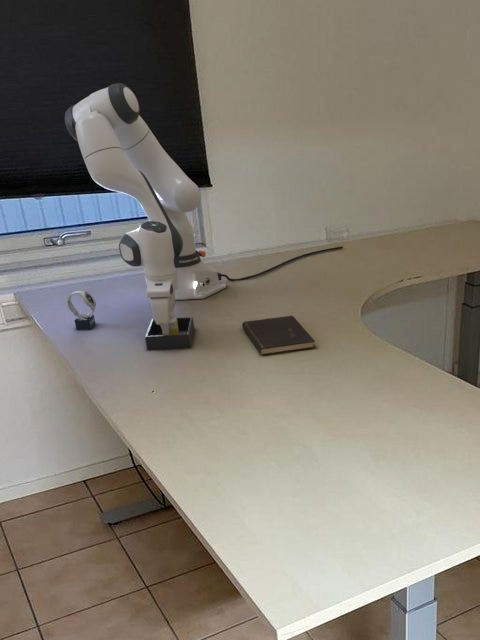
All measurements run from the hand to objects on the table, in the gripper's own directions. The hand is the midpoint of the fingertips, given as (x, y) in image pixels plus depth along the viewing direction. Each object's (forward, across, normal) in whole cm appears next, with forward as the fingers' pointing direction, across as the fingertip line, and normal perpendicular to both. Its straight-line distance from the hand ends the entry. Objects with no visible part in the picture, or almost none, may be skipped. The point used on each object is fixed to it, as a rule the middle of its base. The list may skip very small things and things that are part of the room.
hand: (168, 329), depth 219 cm
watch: (+4, -14, -27) cm, 31 cm away
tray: (+3, 0, 0) cm, 3 cm away
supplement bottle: (+4, 0, 0) cm, 4 cm away
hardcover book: (+3, +3, +32) cm, 32 cm away
